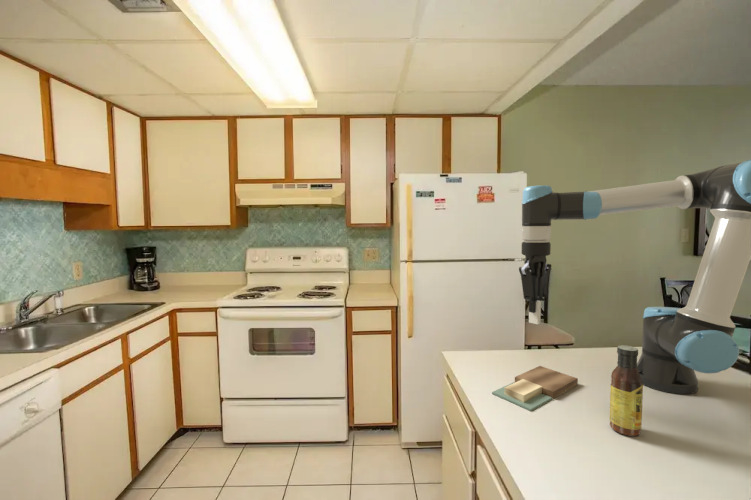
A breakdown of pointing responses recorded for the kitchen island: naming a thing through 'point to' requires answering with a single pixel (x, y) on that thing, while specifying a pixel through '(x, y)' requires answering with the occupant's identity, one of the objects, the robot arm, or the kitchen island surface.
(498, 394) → the rubber mat
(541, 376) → the walnut deck
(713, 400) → the kitchen island surface
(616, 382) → the sauce bottle
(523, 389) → the maple tile
